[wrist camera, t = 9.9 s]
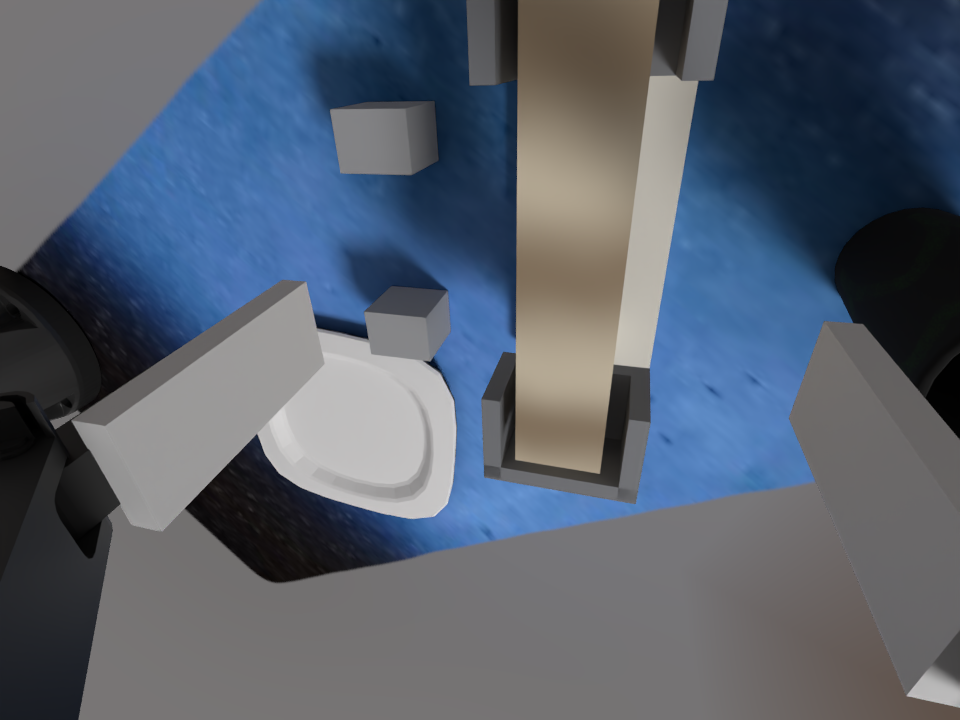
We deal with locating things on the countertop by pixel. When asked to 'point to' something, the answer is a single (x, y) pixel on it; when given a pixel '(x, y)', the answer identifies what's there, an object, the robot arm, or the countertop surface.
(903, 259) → the cup
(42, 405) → the robot arm
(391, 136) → the rests
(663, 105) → the bracket stand
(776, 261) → the countertop surface
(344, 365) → the plate
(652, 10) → the rail
